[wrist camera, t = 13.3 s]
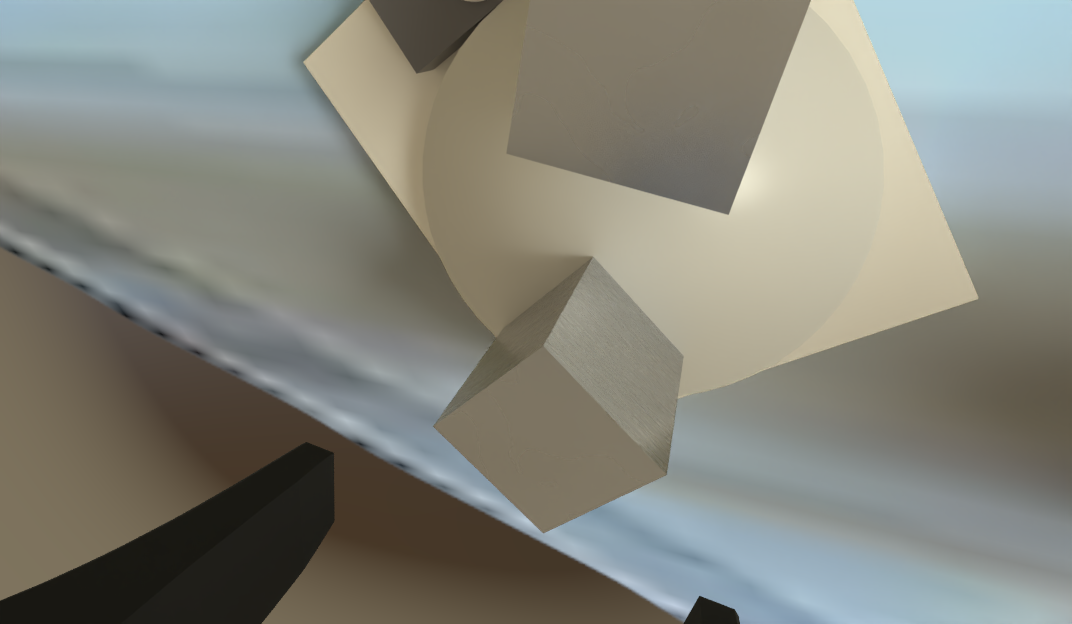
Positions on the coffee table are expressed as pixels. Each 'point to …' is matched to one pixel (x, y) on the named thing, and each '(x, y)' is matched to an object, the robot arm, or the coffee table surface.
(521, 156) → the block
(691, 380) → the scale
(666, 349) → the block
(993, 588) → the coffee table surface
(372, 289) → the coffee table surface
